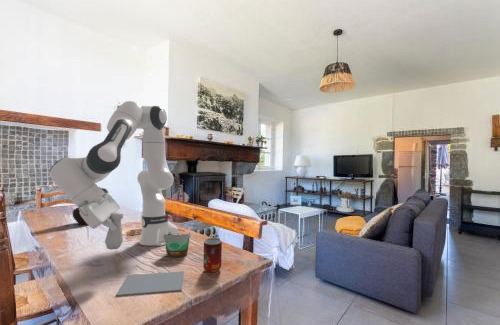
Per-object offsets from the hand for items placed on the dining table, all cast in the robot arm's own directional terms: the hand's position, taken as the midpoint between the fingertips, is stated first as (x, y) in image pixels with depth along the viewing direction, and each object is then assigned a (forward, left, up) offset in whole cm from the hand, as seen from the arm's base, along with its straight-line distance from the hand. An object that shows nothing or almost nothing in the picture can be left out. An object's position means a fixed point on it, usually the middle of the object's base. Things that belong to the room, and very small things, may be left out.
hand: (117, 227), depth 89 cm
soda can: (-29, +19, -19) cm, 39 cm away
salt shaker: (+1, -1, -8) cm, 8 cm away
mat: (-8, +13, -19) cm, 24 cm away
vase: (-14, -98, -19) cm, 101 cm away
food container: (-27, -4, -19) cm, 33 cm away
